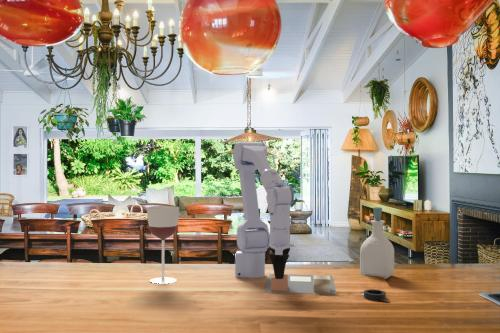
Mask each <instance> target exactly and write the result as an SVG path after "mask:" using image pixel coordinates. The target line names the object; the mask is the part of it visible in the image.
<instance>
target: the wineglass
mask: <svg viewBox="0 0 500 333" xmlns="http://www.w3.org/2000/svg"><path fill="white" fill-rule="evenodd" d="M146 214H147V216H146V217H147V223H148V228H149V232H150V234H152V236H154V237H156V238H158V239H160V240H161V277H154V278H151V279H149V280H148V282H149V281H150V282H152V283H151V284H154V283H157V284H156V285H167V284H168V283H169V284H173V283H176V282H177V280H178V279H177V278H174V277H169V276H165V247H166V246H165V240H166V239H168V238H169V237H171V236H173V235H174V234H175V233H176V232H177V229H178V223H179V217H180V207H179V206H176V205H175V206H174V205H173V206H172V205H161V206H160V205H157V206H147V207H146ZM150 282H149V283H150ZM158 283H159V284H158Z"/></svg>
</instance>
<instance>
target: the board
mask: <svg viewBox="0 0 500 333" xmlns="http://www.w3.org/2000/svg"><path fill="white" fill-rule="evenodd" d="M272 274H273V273H269V274H268V279H267V282H266V286H265V289H264V293H278V294H279V293H282V294H284V293H287V294H315V295H317V294H319V295H337V294H338V293H337V290H336V285H335V282H334V281H335V280H334V279H333V278H334V277H333V275H329V276H330V292H314V289H313V275H314V274H288V273H287V275H288V290H287V291H272V290H271V276H272ZM322 276H327V275H326V274H325V275H323V274H322Z"/></svg>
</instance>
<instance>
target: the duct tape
mask: <svg viewBox="0 0 500 333" xmlns="http://www.w3.org/2000/svg"><path fill="white" fill-rule="evenodd" d="M359 294H360V295H363V298H364V299H366V300H368V301H382V302H385V303H387V304H389V303H391V301H388V300H386V298H387V293H386V291H384V290H381V289H374V288H371V289H365V290H363V291H361V292H359Z"/></svg>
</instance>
